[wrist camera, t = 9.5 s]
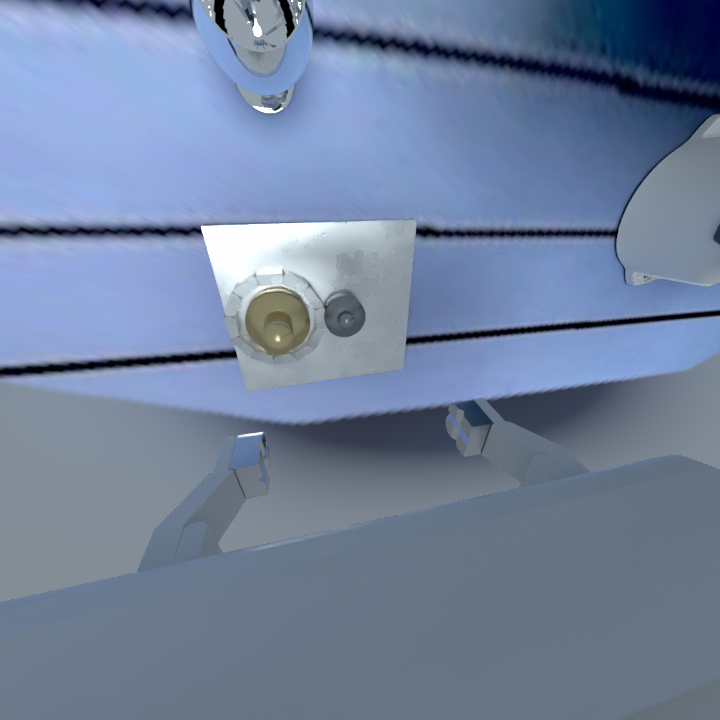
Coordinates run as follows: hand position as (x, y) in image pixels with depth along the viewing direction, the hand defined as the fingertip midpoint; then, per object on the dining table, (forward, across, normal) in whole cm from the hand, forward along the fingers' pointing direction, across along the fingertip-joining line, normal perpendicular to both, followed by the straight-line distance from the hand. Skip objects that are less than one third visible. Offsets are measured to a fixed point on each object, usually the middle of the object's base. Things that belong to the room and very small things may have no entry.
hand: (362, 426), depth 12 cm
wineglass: (+22, +3, -16) cm, 27 cm away
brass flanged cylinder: (+20, +5, +3) cm, 21 cm away
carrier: (+21, 0, +3) cm, 22 cm away
